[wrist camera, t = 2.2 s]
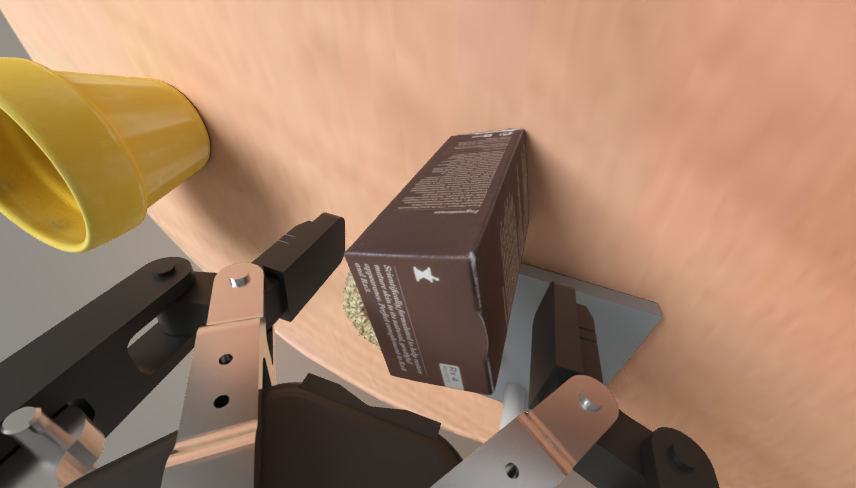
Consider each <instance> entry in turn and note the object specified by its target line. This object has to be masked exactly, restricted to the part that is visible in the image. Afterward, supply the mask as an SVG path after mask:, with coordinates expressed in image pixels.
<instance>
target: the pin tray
mask: <svg viewBox="0 0 856 488" xmlns="http://www.w3.org/2000/svg"><path fill="white" fill-rule="evenodd" d="M552 281H554V282H558V283H561V284H564V285H568V286H571V287H574V288H575V294H576V303H577V304H581V305H584V306H586V307H587V309H588V310H589V312H590V314H591V315H592V317H593V319H594V324H595V331H596V332H595V334H596V338H597V344H598V351H599V358H600V365H601V371H602V378H603V384H604V385H605V386H607V385H608V384H609V383H610V381H611V380H612V379H613V378H614V376H615V375H616V374H617V373H618V371H619V370H620V369H621V368H622V367H623V365H624V364H625V363H626V362H627V360H628V359H629V358H630V357H631V356H632V354H633V353H634V352H635V351H636V349H637V348H638V347H639V346H640V344H641V343H642V342H643V341H644V340H645V338H646V337H647V336H648V335H649V333H650V332H651V331H652V330H653V329H654V327H655V326H656V325H657V324H658V322H659V321H660V320H661V319H662V317H663V316H662V314H661V311H660V308H659V305H658V303H655V302H651V301H648V300H645V299H641V298H638V297H634V296H631V295H628V294H624V293H621V292H618V291H614V290H611V289H607V288H604V287H601V286H597V285H594V284H591V283H587V282H584V281H580V280H577V279H574V278H570V277H567V276H563V275H560V274H557V273H553V272H550V271H547V270H543V269H540V268H536V267H533V266H530V265H526V264H523V263H521V264H520V269H519V275H518V280H517V284H516V289H515V295H514V299H513V304H512V308H511V314H510V319H509V324H508V329H507V336H506V341H505V345H504V350H503V355H502V361H501V365H500V370H499V375H498V379H497V384H496V388H495V391H494V393H493V394H492V395H484V394H481V395H483V396H486V397H489V398H492V399H494V400H497V401H500V402H502V403H503V408H502V415H501V422H500V429H499V431H500V430H501V429H502V428H504V427H505V426H506V425H507V424H508V423H510V422H511V421H512V420H513V419H515V418H516V417H517V416H518V415H520V414H521V413H523V412H524V411H526V412H530V411H531V409H528V401H529V382H530V363H531V344H532V326H533V320H534V317H535V313H536V311H537V309H538V307H539V305H540V303H541V301H542V299H543V297H544V295H545V293H546V291H547V289H548V287H549V285H550V283H551V282H552ZM478 394H479V393H478Z"/></svg>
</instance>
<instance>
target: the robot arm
mask: <svg viewBox="0 0 856 488" xmlns="http://www.w3.org/2000/svg"><path fill="white" fill-rule="evenodd" d="M344 252H345V220H344V218H342V217H339V216H336V215H332V214H329V213H322V214H321V215H320V216H319V217H318V218H317V219H315V220H314V221H313V222H311V221H307V222H304V223H302V224H299V225H297V226H295V227H294V228H293V229H292V230H290V231H289V232H288V233H287V235H284V236H283V237H282V238H281V239H280V240H279V241H277V242H276V243H275V244H274V245H272V246H271V247H270V248H269V249H268V250H266V251H265V252H264V253H263V254H262V255H260V256H259V257H258V258H257V259H256V260H254V261H253V262H252V263H237V264H233V265H230V266H228V267H225V268H224V269H222V270H221V271H220V272H218V273H209V272H194V271H193V269H192V266H191V264H190V262H189V261H188V260H186V259H184V258H180V257H167V258H161V259H158V260H155V261H152V262H151V263H148V264H147V265H145V266H143V267H142V268H141V269H139V270H138V271H136V272H135V273H133V274H132V275H130V276H128V277H127V278H126V279H124V280H123V281H121V282H120V283H118V284H117V285H115V286H114V287H112V288H111V289H109V290H108V291H106V292H105V293H103V294H102V295H100V296H99V297H97V298H96V299H94V300H93V301H91V302H90V303H88V304H87V305H85V306H84V307H82V308H81V309H79V310H78V311H77V312H75V313H74V314H72V315H71V316H69V317H68V318H66V319H65V320H63V321H62V322H60V323H59V324H57V325H56V326H54V327H53V328H51V329H50V330H48V331H47V332H45V333H44V334H42V335H41V336H40V337H38V338H36V339H35V340H34V341H32V342H30V343H29V344H28V345H26V346H25V347H23V348H22V349H20V350H19V351H17V352H16V353H14V354H13V355H11V356H10V357H8V358H7V359H5V360H4V361H2V362H1V363H0V488H555V487H556V486H557V485H558V484H559V483H560V482H561V481H562V480H563V479H564V477H566V475H567V474H568V473H569V472H570V471H571V470H572V469H573V470H574V471H575V472H577V473H578V474H580V475H581V476H582V477H583V478H585V479H586V480H587V481H589V482H590V483H591V484H593V485H594V486H595V487H597V488H719V484H718V481H717V478H716V475H715V471H714V468H713V466H712V464H711V462H710V460H709V458H708V457H707V455H706V454H705V452H704V451H703V450H702V449H701V448H700V446H699V445H698V444H697V443H696V442H694V441H693V440H692V439H691V438H689V437H688V436H687V435H685V434H684V433H682V432H680V431H678V430H676V429H673V428H668V427H661V428H658V429H656V430H655V431H654V432H652V431H650V430H649V429H647V428H646V427H644V426H643V425H641V424H639V423H638V422H636V421H635V420H633V419H632V418H630V417H629V416H627V415H626V414H624V413H623V412H622V411H621V410H620V409H619V408H618V404H617V401H616V399H615V397H614V396H613V394H612V393H611V392H610V390H609V389H608V388H607V387H606V386H605V385H604V384H603V378H602V371H601V365H600V358H599V351H598V344H597V338H596V334H595V332H596V331H595V324H594V319H593V317H592V315H591V314H590V312H589V310H588V309H587V307H586V306H584V305H581V304H577V303H576V294H575V288H574V287H571V286H568V285H564V284H561V283H558V282H554V281H552V282H551V283H550V285H549V287H548V289H547V291H546V293H545V295H544V297H543V299H542V301H541V303H540V305H539V307H538V309H537V311H536V313H535V317H534V320H533V326H532V344H531V363H530V382H529V401H528V409H531V411H530V412H528V413H526V412H523V413H521V414H520V415H518V416H517V417H516V418H515V419H513V420H512V421H511V422H510V423H508V424H507V425H506V426H505V427H504V428H502V429H501V430H500V431H499V432H497V433H496V434H495V435H494V436H492V437H491V438H490V439H489V440H488V441H486V442H485V443H484V444H483V445H481V446H480V447H479V448H478V449H477V450H476V451H474V452H473V453H472V454H470V455H469V456H468V457H467V458H466V459H464V460H463V459H462V458H461V456H460V455H459V453H458V452H457V451H456V450H455V448H454V447H453V446H452V445H451V444H450V443H449V442H448V441H447V440H446V439H444V438H443V437H442V436H440V435H439V434H438V433H439V429H440V425H441V423H439V422H437V421H434V420H431V419H429V418H426V417H423V416H421V415H418V414H416V413H413V412H410V411H408V410H400V409H390V408H380V407H372V406H368V405H367V404H365V403H364V402H362V401H361V400H360V399H358V398H357V397H356V396H354V395H353V394H352V393H350V392H349V391H348V390H346V389H345V388H343V387H342V386H341V385H339V384H337V383H334V382H331V381H329V380H326V379H324V378H321V377H318V376H316V375H313V374H310V373H308V375H307V376H306V378H305V379H304V381H303V382H302V383H301V382H295V383H294V382H293V383H283V384H278V385H277V384H276V374H275V335H274V334H275V332H274V324H275V323H276V321H277V320H278V319H279V318H281V319H283V320H286V321H289V322H291V321H292V320H293V319H294V318H295V317H296V315H297V314H298V313H299V312H300V311H301V309H302V308H303V307H304V306H305V305H306V304H307V302H308V301H309V300H310V299H311V298H312V296H313V295H314V294H315V293H316V292H317V290H318V289H319V288H320V287H321V286H322V285H323V283H324V282H325V281H326V280H327V279H328V277H329V276H330V275H331V274H332V273H333V271H334V270H335V269H336V268H337V267H338V265H339V264H340V263H341V261H342V259H343V257H344ZM155 317H157V319H158V321H159V322H158V323H157V324H155V326H153V327H152V328H151V329H150V330H148V331H147V332H146V333H145V334H144V335H143V336H141V337H140V338H139V339H138V340H137V341H136V342H134V343H133V344H132V345H131V346H130V347H129V348H127V346H128V343H129V341H130V340H131V338H132V337H133V336H134V335H135V334H136V333H137V332H138V331H139V330H141V329H142V328H143V327H144V326H145V325H147V324H148V323H149V322H150V321H152V320H153V319H154V318H155ZM193 348H194V350H193V355H192V361H191V366H190V371H189V377H188V382H187V387H186V392H185V398H184V403H183V408H182V413H181V419H180V424H179V429H178V430H177V431H175V432H173V433H170V434H169V435H166V436H164V437H162V438H160V439H158V440H156V441H154V442H152V443H150V444H148V445H146V446H144V447H141V448H139V449H137V450H135V451H133V452H131V453H129V454H127V455H125V456H123V457H121V458H119V459H116V460H115V461H112V462H110V463H108V464H106V465H104V466H102V467H100V468H98V469H96V468H97V465H98V463H97V460H98V458H99V456H100V455H101V453H102V451H103V449H104V445H105V438H106V437H107V436H108V435H109V434H110V433H111V432H112V431H113V430H114V429H115V428H116V427H117V426H118V425H119V424H120V422H122V421H123V419H125V418H126V417H127V415H129V413H130V412H131V411H132V410H133V409H134V408H135V407H136V406H137V405H138V404H139V403H140V402H141V401H142V400H143V399H144V398H145V397H146V396H147V395H148V394H149V393H150V392H151V391H152V390H153V389H154V388H155V387H156V386H157V385H158V384H159V383H160V382H161V381H162V380H163V379H164V378H165V377H166V376H167V375H168V374H169V372H171V371H172V369H173V368H174V367H175V366H176V365H177V364H178V363H179V362H180V361H181V360H182V359H183V358H184V357H185V356H186V355H187V354H188V353H189V352H190V351H191V350H192V349H193Z"/></svg>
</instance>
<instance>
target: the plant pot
mask: <svg viewBox="0 0 856 488" xmlns="http://www.w3.org/2000/svg"><path fill="white" fill-rule="evenodd" d="M209 156H210V141H209V136H208V133H207V130H206V128H205V125H204V123H203V121H202V119H201V117H200V115H199V114H198V112H197V111H196V109H195V108H194V107H193V105H192V104H191V103H190V102H189V101H188V99H187V98H186V97H185V96H184V95H183V94H181V93H180V92H179V91H178V90H177V89H175V88H174V87H172V86H170V85H169V84H167V83H165V82H163V81H160V80H156V79H148V78H136V77H123V76H112V75H99V74H86V73H75V72H64V71H53V70H51V69H49V68H47V67H45V66H43V65H41V64H39V63H36V62H34V61H30V60H27V59H22V58H9V57H8V58H6V57H4V58H3V57H0V212H1V213H2V214H4V215H5V216H6V217H7V218H9V219H10V220H11V221H12V222H14V223H15V224H16V225H18V226H19V227H20V228H22V229H23V230H24V231H26V232H27V233H29V234H30V235H32V236H34V237H35V238H37V239H38V240H40V241H42V242H43V243H46V244H47V245H50V246H52V247H54V248H56V249H59V250H62V251H66V252H72V253H82V252H86V251H89V250H91V249H94V248H96V247H98V246H100V245H102V244H104V243H107V242H108V241H110V240H112V239H115V238H117V237H118V236H120V235H122V234H124V233H126V232H128V231H130V230H131V229H133V228H135V227H137V226H138V225H139V224H141V222H142V221H143V220H144V218H145V216H146V212H147V208H149V207H150V206H151V205H153V204H154V203H155V202H157V201H158V200H159V199H161V198H162V197H163V196H165V195H166V194H167V193H169V192H170V191H171V190H173V189H174V188H175V187H177V186H178V185H180V184H181V183H182V182H184V181H185V180H186V179H188V178H189V177H190V176H192V175H193V174H194V173H196V172H197V171H199V170H200V169H201V168H203V167H204V166H205V164H206V163H207V161H208V159H209Z"/></svg>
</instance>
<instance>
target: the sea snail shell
mask: <svg viewBox="0 0 856 488" xmlns="http://www.w3.org/2000/svg"><path fill="white" fill-rule="evenodd" d="M345 284H347V286H346V288H344V291H343V293H344V298H345V299H344V301H343V306H344V308H343V309H344V310H345V312H346V315H347V317H348V318H349V320H350V321H351V322H352V325H353V326H355V328H357V331H358V332H359V336H360V335H364V338H366V339H367V340H368V341H369V342H371V343H372V344H376V345H378V346H379V343H378V340H377V338H376V335H375V333H374V330H373V327H372V325H371V322H370V320H369V317H368V314H367V312H366V309H365V307H364V304H363V302H362V299H361V296H360V294H359V291H358V289H357V286H356V284H355V281H354V279H353V276H352V274H351V272H350V273H348V276H347V278H346V282H345ZM379 349H380V350H381V348H380V346H379Z"/></svg>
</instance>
